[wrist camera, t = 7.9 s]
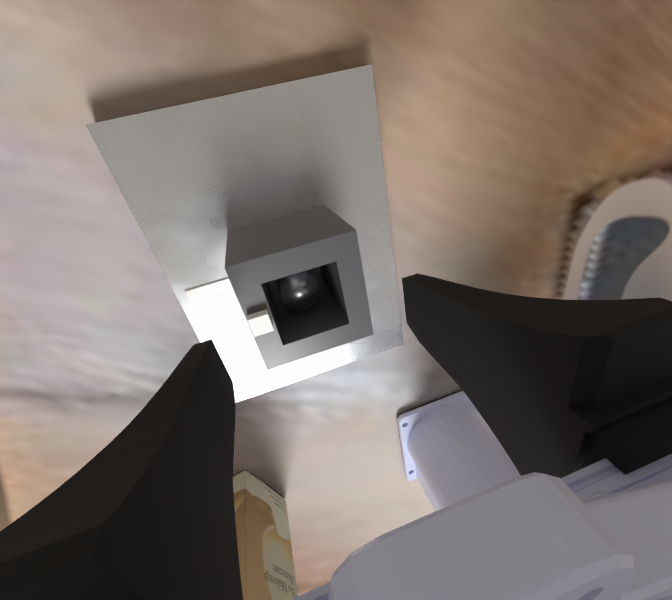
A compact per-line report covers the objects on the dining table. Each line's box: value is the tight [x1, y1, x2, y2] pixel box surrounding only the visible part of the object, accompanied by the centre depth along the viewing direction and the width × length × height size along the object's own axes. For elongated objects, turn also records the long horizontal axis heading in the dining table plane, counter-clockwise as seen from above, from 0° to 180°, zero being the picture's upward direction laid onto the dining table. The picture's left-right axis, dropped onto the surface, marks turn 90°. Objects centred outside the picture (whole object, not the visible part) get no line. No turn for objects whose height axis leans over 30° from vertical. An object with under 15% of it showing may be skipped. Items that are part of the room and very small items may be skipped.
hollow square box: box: [225, 205, 374, 371], centre depth 15 cm, size 5×5×5 cm
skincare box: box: [233, 471, 297, 600], centre depth 21 cm, size 6×4×12 cm
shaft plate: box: [86, 64, 403, 403], centre depth 16 cm, size 16×12×4 cm
